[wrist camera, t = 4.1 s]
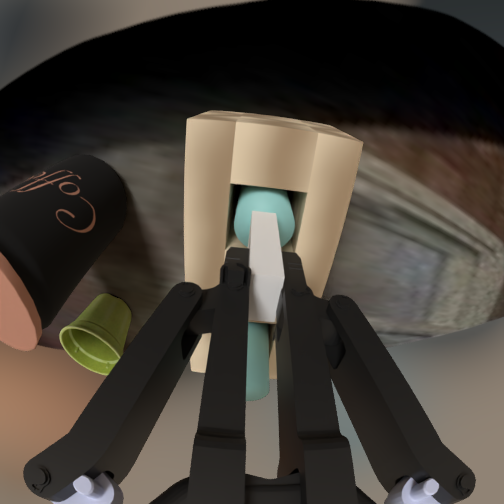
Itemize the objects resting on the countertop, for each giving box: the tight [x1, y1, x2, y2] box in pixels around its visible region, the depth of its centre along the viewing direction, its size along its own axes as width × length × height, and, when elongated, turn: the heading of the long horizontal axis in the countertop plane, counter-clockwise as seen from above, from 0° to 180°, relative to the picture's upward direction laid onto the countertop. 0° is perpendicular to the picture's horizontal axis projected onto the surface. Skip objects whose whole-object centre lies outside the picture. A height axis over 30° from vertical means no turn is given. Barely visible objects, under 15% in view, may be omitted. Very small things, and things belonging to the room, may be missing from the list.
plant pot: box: [60, 293, 131, 375], centre depth 33 cm, size 9×9×9 cm
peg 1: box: [234, 184, 295, 247], centre depth 22 cm, size 4×4×8 cm
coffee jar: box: [0, 155, 126, 352], centre depth 20 cm, size 11×11×18 cm
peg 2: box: [246, 322, 269, 401], centre depth 24 cm, size 4×4×8 cm
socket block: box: [184, 111, 363, 379], centre depth 26 cm, size 11×25×9 cm, turn 174°
